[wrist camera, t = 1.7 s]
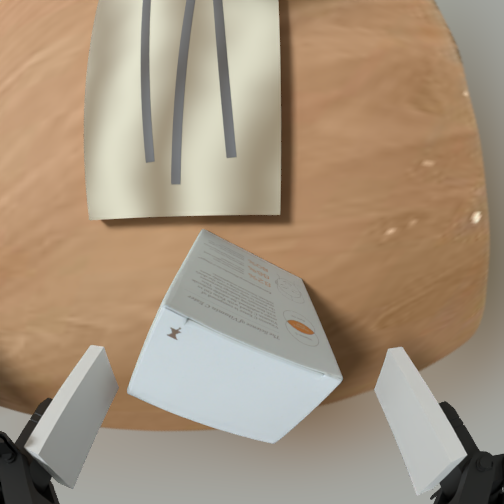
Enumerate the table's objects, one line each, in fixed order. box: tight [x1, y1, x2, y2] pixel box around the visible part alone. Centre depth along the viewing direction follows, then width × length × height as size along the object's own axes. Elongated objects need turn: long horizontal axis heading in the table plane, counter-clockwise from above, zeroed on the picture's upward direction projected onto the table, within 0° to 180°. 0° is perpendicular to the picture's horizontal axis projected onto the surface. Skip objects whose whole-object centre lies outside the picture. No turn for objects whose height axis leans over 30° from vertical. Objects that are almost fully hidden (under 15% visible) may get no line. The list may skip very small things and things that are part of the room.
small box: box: [127, 229, 343, 444], centre depth 15 cm, size 8×6×10 cm
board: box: [84, 0, 281, 220], centre depth 15 cm, size 13×20×1 cm, turn 0°
